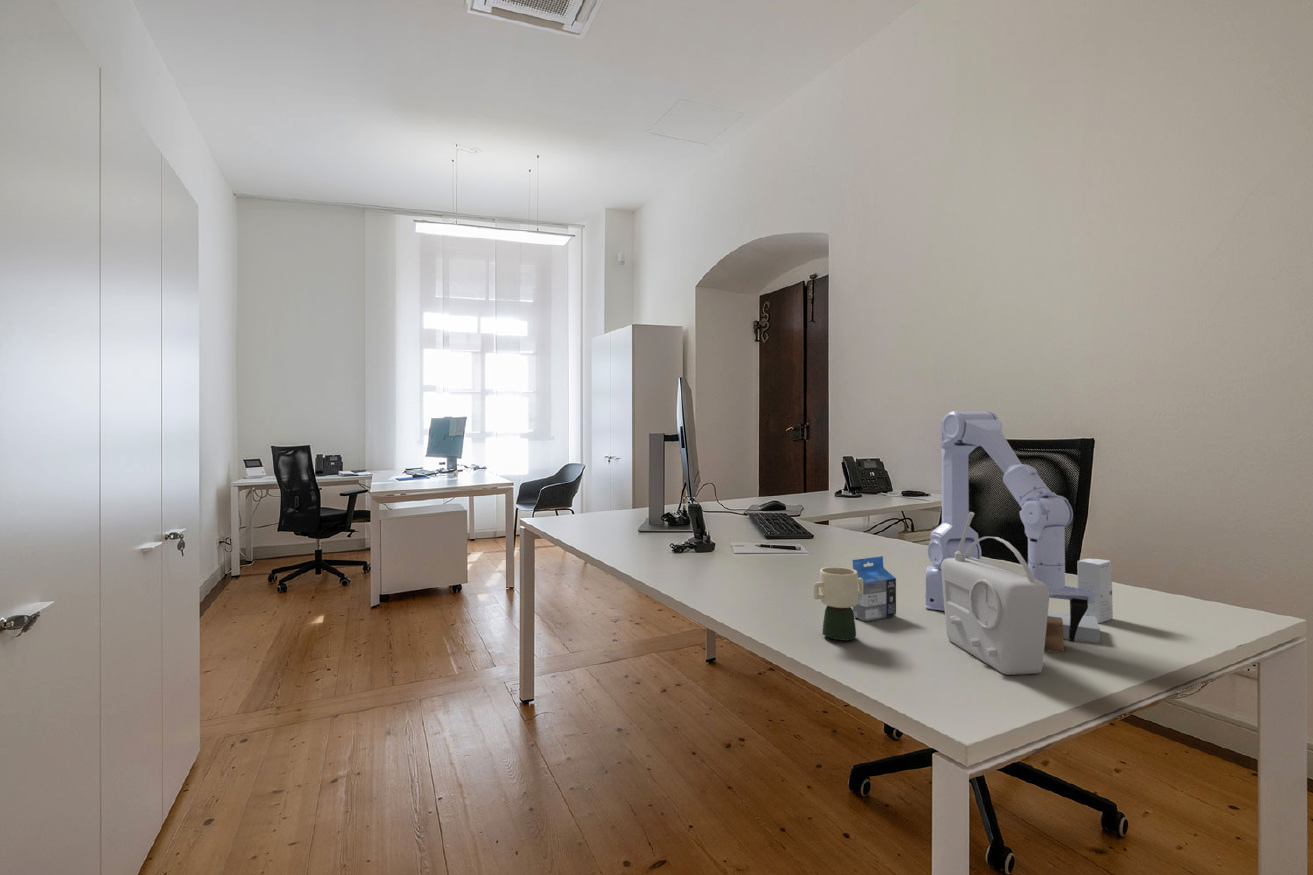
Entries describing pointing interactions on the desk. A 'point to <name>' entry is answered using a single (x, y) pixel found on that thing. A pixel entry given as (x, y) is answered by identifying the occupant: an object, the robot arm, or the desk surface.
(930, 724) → the desk surface
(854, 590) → the character mug
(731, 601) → the desk surface
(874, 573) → the ink cartridge box
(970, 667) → the desk surface
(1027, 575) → the radio
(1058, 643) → the walnut cube
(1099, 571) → the skincare box
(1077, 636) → the stoneware block
